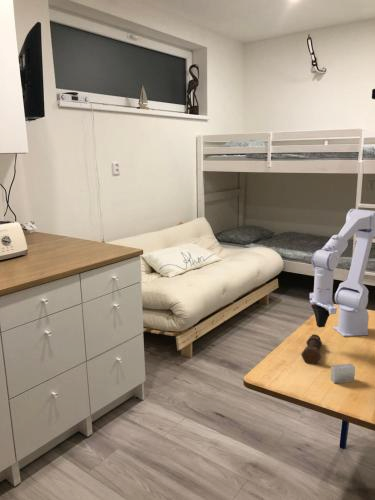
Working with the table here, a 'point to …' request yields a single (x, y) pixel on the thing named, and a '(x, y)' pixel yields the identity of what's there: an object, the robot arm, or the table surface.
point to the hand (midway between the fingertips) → (320, 326)
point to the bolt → (312, 350)
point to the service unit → (342, 373)
